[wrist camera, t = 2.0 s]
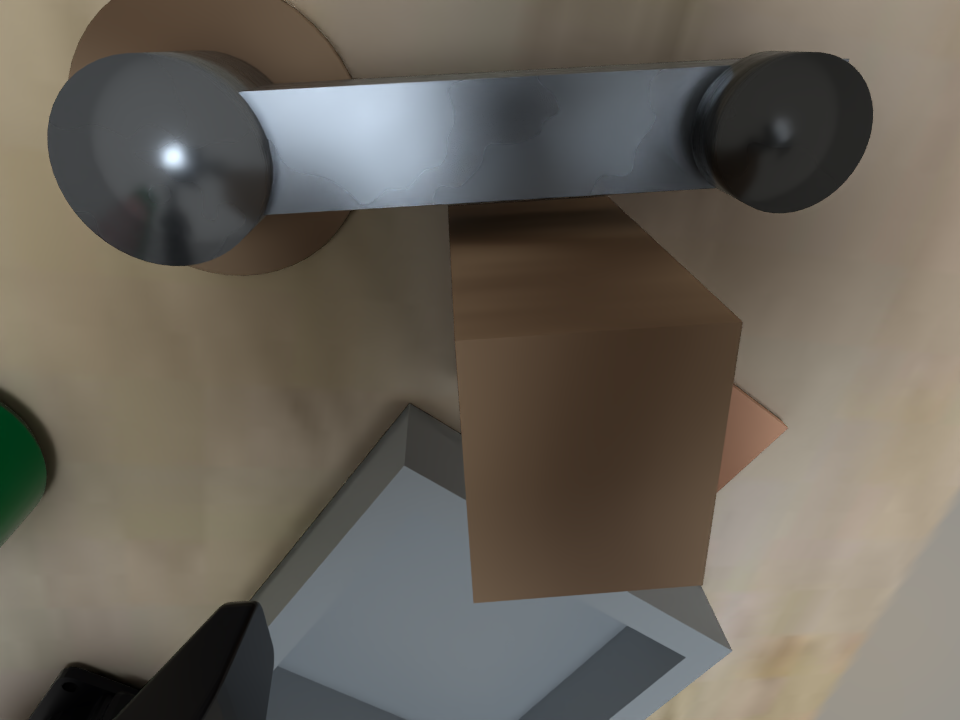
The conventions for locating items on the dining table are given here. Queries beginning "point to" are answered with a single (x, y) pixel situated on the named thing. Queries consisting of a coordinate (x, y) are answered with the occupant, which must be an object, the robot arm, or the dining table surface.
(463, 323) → the block
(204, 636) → the robot arm
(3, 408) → the soda can
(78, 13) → the dining table surface
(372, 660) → the tray
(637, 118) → the lever
